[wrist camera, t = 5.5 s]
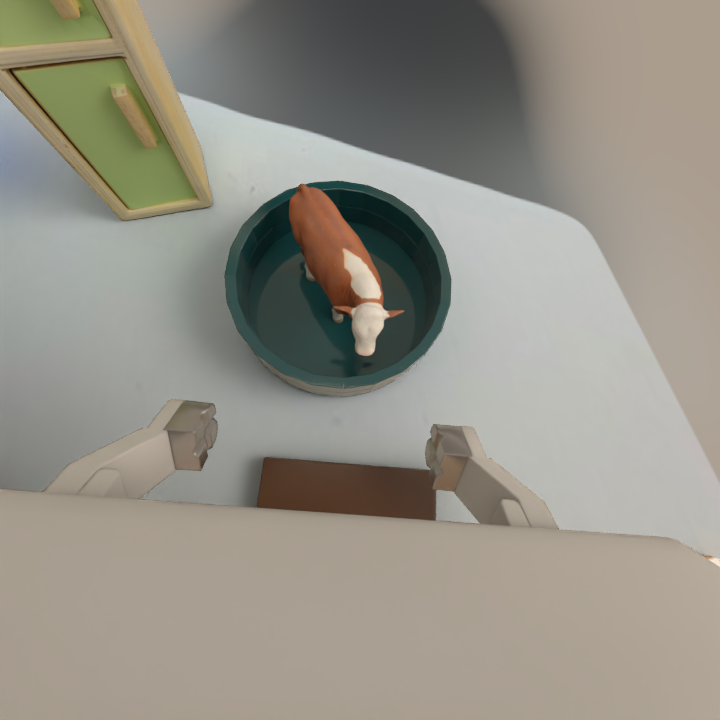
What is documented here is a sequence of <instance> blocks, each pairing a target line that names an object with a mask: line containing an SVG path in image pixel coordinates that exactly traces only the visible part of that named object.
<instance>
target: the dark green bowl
mask: <svg viewBox="0 0 720 720" xmlns="http://www.w3.org/2000/svg"><path fill="white" fill-rule="evenodd" d="M306 186H307V187H308V188H310V187H314V188H318V189H320V190H321V191H322V192H324V193H325V194H326V195H327V196H328V197H329V198H330V199H331V201H332V202H333V203H334V205H335V206H336V207H337V209H338V210H339V212H340V214H341V216H342V217H343V219H344V220H345V221H346V222H347V224H348V225H349V226H350V227H351V228H352V229H353V231H354V232H355V233H356V234H357V235H358V237H359V238H360V240H361V242H362V243H363V245H364V247H365V248H366V250H367V252H368V253H369V255H370V257H371V260H372V263H373V264H374V266H375V268H376V270H377V272H378V274H379V276H380V279H381V287H382V291H383V296H384V301H383V309H384V310H386V311H391V310H397V311H398V310H404V312H403V313H402V314H399V315H397V316H395V317H392V318H388V319H386V320H384V327H383V329H382V330H381V332H380V334H379V335H378V336H377V338H376V341H375V351H374V353H373V354H372V355H370V356H362V355H359V354H358V353H356V351H355V342H356V340H355V337H354V335H353V331H352V320H353V319H352V318H351V317H348V316H346V315H343V321H342V322H341V323H335V322H334V321H333V312H332V308H333V305H332V304H331V302H330V300H329V298H328V296H327V294H326V293H325V291H324V290H323V288H322V287H321V285H320V284H319V283H318V282H317V281H309V280H308V279H307V277H306V269H305V268H304V265H305V258H304V256H303V254H302V252H301V247H300V245H299V244H298V243H297V242H296V240H295V237H294V234H293V232H292V228H291V223H290V220H289V202H290V199H291V197H292V196H293V195H295V194H296V192H297V188H298V187H296V188H293V189H289V190H286V191H285V192H283V193H281V194H280V195H278V196H276V197H274V198H273V199H271V200H269V201H268V202H266V203H264V204H263V205H262V206H261V207H260V208H259V209H258V210H257V211H256V212H255V213H254V214H253V215H252V216H251V217H250V218H249V219H248V220H247V221H246V222H245V223H244V224H243V226H242V228H241V229H240V231H239V233H238V235H237V237H236V238H235V240H234V242H233V244H232V246H231V248H230V252H229V257H228V261H227V266H226V270H225V287H226V299H227V305H228V307H229V310H230V312H231V315H232V318H233V320H234V323H235V325H236V328H237V330H238V332H239V333H240V334H241V336H242V337H243V338H244V340H245V341H246V342H247V343H248V345H249V346H250V347H251V349H252V350H253V351H254V353H255V354H256V355H257V356H258V358H259V359H260V360H261V362H262V363H263V364H264V365H265V366H266V368H268V369H269V370H270V371H272V372H273V373H274V374H275V375H276V376H278V377H279V378H281V379H282V380H284V381H285V382H287V383H289V384H291V385H293V386H295V387H297V388H299V389H301V390H304V391H308V392H311V393H314V394H319V395H325V396H338V397H343V396H355V395H359V394H364V393H368V392H371V391H374V390H376V389H379V388H381V387H383V386H385V385H387V384H389V383H392V382H393V381H395V380H396V379H397V378H398V377H400V376H401V375H402V374H403V373H404V372H406V371H407V370H408V369H409V368H411V367H412V366H413V365H414V364H415V363H416V362H417V361H418V360H419V359H421V358H422V357H423V356H424V355H425V354H426V353H427V351H428V350H429V348H430V347H431V346H432V344H433V343H434V341H435V340H436V338H437V337H438V335H439V334H440V333H441V330H442V328H443V325H444V322H445V319H446V316H447V313H448V310H449V307H450V300H451V276H450V272H449V268H448V264H447V259H446V255H445V252H444V250H443V248H442V247H441V245H440V243H439V241H438V239H437V237H436V235H435V234H434V232H433V230H432V229H431V228H430V227H429V226H428V225H427V223H426V222H425V221H424V220H423V219H422V218H421V217H420V216H419V215H418V214H417V213H416V211H414V209H412V208H411V207H409V206H408V205H406V204H405V203H403V202H402V201H400V200H399V199H398V198H396V197H395V196H393V195H391V194H388V193H386V192H383V191H381V190H378V189H376V188H373V187H371V186H368V185H367V186H366V185H363V184H356V183H350V182H344V181H329V182H314V183H309V184H306Z"/></svg>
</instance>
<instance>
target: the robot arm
mask: <svg viewBox="0 0 720 720" xmlns="http://www.w3.org/2000/svg"><path fill="white" fill-rule="evenodd" d="M215 414H216V408H215V405H214V404H213V403H205V402H197V401H188V400H186V401H185V400H177V399H170V400H168V401H167V403H166V404H165V405H164V406H163V408H162V409H161V410H160V412H159V413H158V414H157V415H156V417H155V418H154V419H153V421H152V422H151V423H150V424H149V426H148V427H147V428H141V429H139V430H137V431H135V432H133V433H131V434H129V435H127V436H125V437H123V438H121V439H119V440H117V441H115V442H113V443H111V444H109V445H107V446H104V447H102V448H100V449H98V450H96V451H94V452H92V453H90V454H88V455H86V456H84V457H82V458H80V459H78V460H76V461H74V462H72V463H70V464H68V465H67V466H66V467H65V468H64V469H63V470H62V472H61V473H60V474H59V475H58V476H57V477H56V478H55V479H54V480H53V481H52V482H51V483H50V484H49V485H48V486H47V487H46V489H45V490H44V491H43V492H34V491H20V490H6V489H0V720H720V567H719V566H717V565H716V564H714V563H713V562H711V561H710V560H708V559H707V558H706V557H704V556H703V555H701V554H700V553H698V552H697V551H695V550H693V549H692V548H690V547H688V546H687V545H685V544H683V543H682V542H680V541H678V540H675V539H671V538H667V537H658V536H642V535H628V534H614V533H601V532H587V531H573V530H559V528H558V526H557V524H556V522H555V520H554V518H553V517H552V515H551V513H550V511H549V509H548V507H547V506H546V504H545V502H544V501H543V500H542V499H540V498H539V497H538V496H537V495H536V494H534V493H533V492H532V491H531V490H529V489H528V488H527V487H526V486H524V485H523V484H522V483H521V482H519V481H518V480H517V479H516V478H514V477H513V476H512V475H511V474H510V473H508V472H507V471H506V470H505V469H503V468H502V467H501V466H500V465H498V464H497V463H496V462H495V461H493V460H492V459H491V458H487V457H486V454H485V452H484V450H483V448H482V445H481V443H480V441H479V439H478V436H477V434H476V432H475V430H474V428H473V427H468V426H451V425H440V424H433V426H432V428H431V431H430V433H431V438H430V439H429V440H428V441H427V444H426V449H425V459H426V464H427V466H428V467H429V468H430V472H429V478H430V482H431V486H432V489H435V490H445V491H454V493H455V494H456V495H457V496H458V498H459V499H460V500H461V501H462V502H463V504H464V505H465V506H466V507H467V508H468V510H469V511H470V512H471V513H472V514H473V516H474V517H475V518H476V519H477V520H478V522H479V523H480V524H476V523H462V522H448V521H434V520H419V519H406V518H392V517H379V516H365V515H352V514H338V513H324V512H310V511H296V510H282V509H268V508H254V507H240V506H227V505H213V504H199V503H185V502H171V501H157V500H144V499H140V498H141V497H142V496H143V495H145V494H146V493H147V492H149V491H150V490H151V489H153V488H154V487H155V486H156V485H158V484H159V483H160V482H162V481H163V480H164V479H166V478H167V477H168V476H170V475H171V474H172V473H173V472H175V470H194V471H201V469H202V467H203V465H204V463H205V461H206V459H207V457H208V453H207V450H209V449H210V448H212V447H213V445H214V443H215V441H216V437H217V431H218V424H217V421H216V420H215V419H214V418H213V417H214V415H215Z"/></svg>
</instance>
